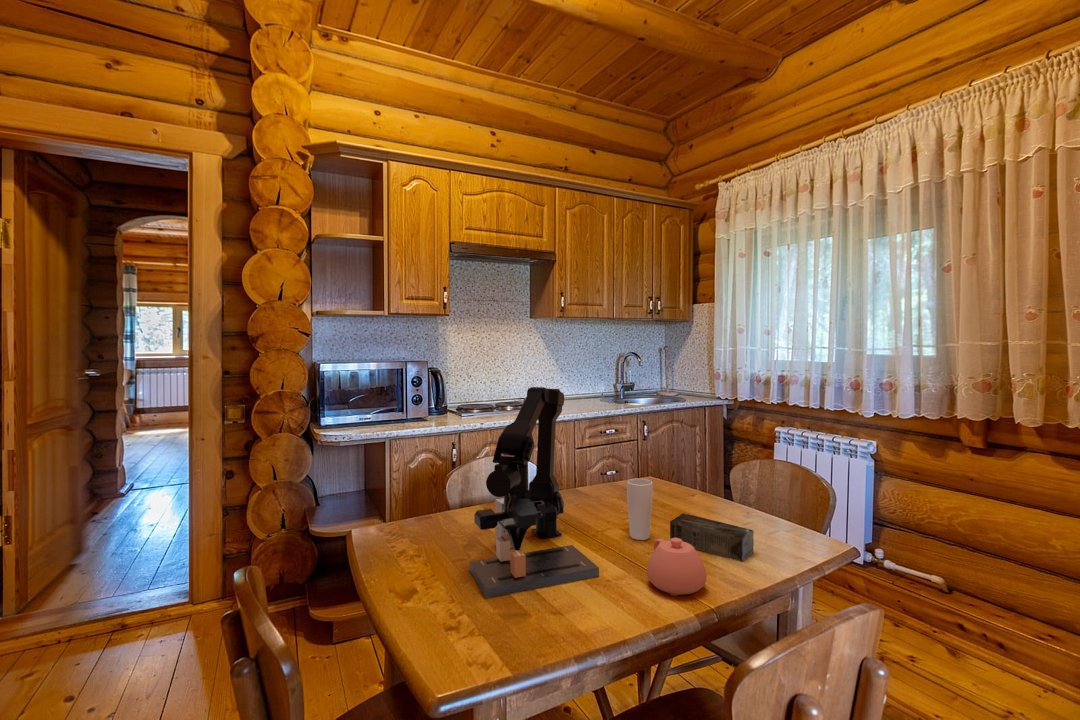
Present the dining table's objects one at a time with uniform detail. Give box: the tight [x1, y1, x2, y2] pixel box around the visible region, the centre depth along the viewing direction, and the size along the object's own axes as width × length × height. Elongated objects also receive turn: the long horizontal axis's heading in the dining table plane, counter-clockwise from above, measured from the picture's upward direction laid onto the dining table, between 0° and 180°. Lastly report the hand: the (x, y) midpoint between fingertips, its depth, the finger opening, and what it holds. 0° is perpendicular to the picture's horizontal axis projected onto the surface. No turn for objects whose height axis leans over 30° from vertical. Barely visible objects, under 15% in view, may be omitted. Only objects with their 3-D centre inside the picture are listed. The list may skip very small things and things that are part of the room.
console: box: [468, 544, 600, 599], centre depth 118 cm, size 14×26×2 cm, turn 112°
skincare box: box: [494, 497, 523, 549], centre depth 134 cm, size 6×4×12 cm
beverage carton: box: [669, 512, 755, 562], centre depth 132 cm, size 8×19×7 cm, turn 50°
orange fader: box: [510, 549, 526, 578], centre depth 112 cm, size 3×2×5 cm
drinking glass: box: [626, 478, 654, 541], centre depth 139 cm, size 7×7×15 cm
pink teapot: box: [646, 538, 707, 597], centre depth 112 cm, size 12×14×10 cm
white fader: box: [495, 536, 511, 562], centre depth 121 cm, size 3×2×5 cm
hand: (516, 551), depth 122 cm, fingers closed
